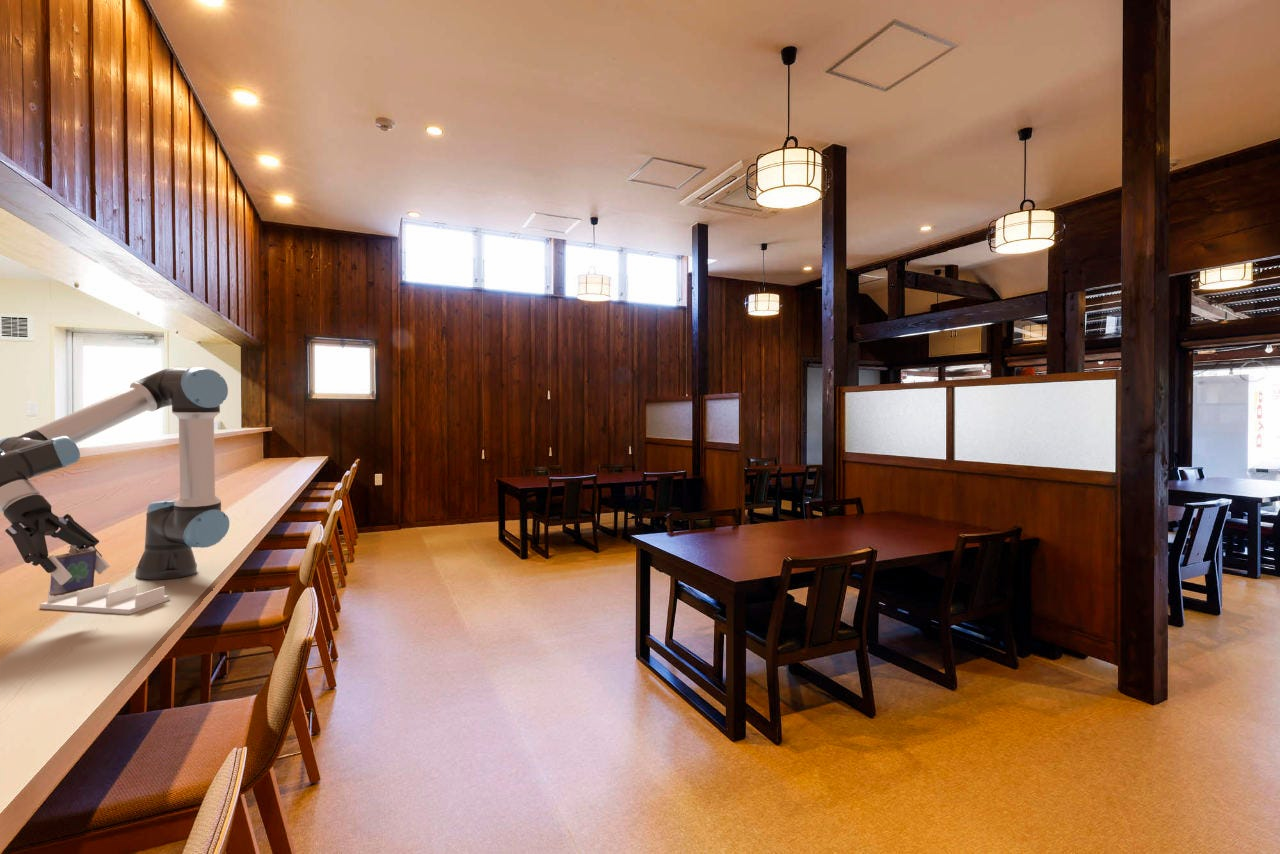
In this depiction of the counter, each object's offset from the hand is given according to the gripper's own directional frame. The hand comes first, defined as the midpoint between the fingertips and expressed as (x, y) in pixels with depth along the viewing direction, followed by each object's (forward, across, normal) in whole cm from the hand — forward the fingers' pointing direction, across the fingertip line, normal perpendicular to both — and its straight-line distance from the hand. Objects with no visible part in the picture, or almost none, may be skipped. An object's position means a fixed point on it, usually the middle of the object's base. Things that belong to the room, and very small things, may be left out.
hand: (86, 575), depth 143 cm
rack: (+2, -16, -15) cm, 22 cm away
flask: (+1, 0, -5) cm, 5 cm away
